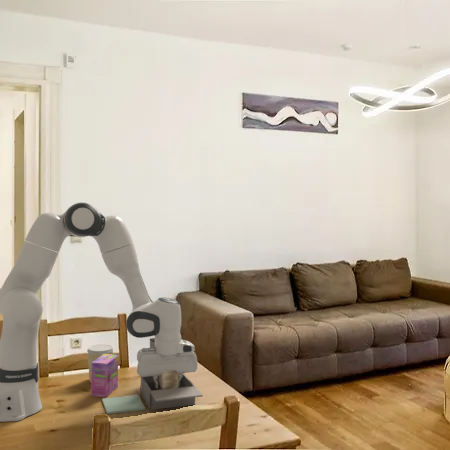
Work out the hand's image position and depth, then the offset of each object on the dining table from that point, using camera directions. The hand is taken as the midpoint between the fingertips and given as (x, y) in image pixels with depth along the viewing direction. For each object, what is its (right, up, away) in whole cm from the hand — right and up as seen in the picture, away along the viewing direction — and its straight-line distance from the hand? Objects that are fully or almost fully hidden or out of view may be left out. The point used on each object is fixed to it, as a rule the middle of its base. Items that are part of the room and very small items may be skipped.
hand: (167, 386), depth 183 cm
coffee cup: (-27, -3, +18) cm, 33 cm away
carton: (+1, -4, -4) cm, 6 cm away
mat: (-14, -4, -6) cm, 16 cm away
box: (-22, -4, +6) cm, 23 cm away
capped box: (0, -4, 0) cm, 4 cm away
